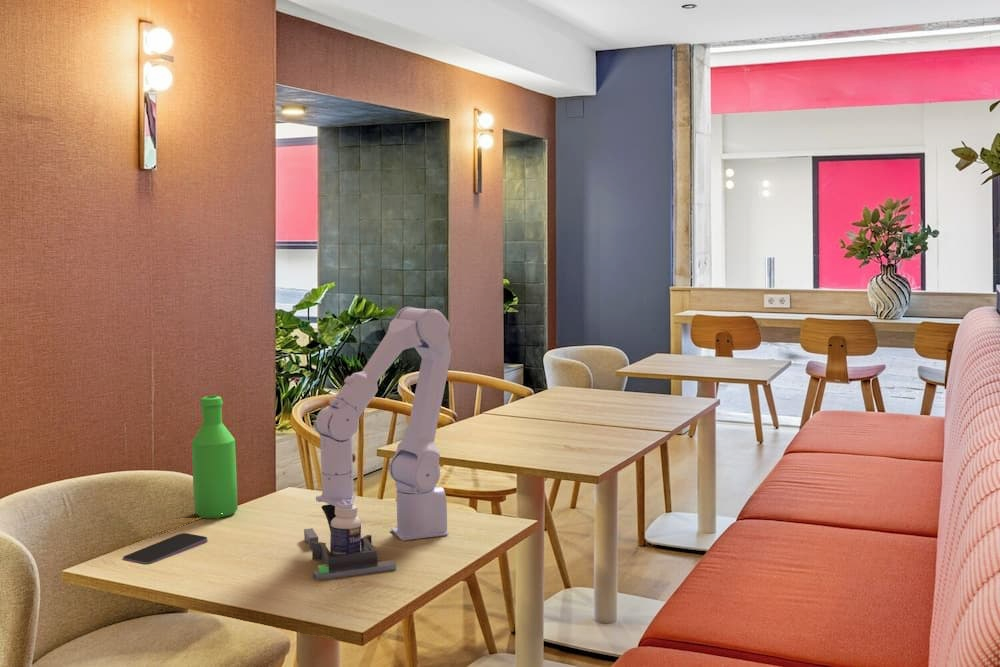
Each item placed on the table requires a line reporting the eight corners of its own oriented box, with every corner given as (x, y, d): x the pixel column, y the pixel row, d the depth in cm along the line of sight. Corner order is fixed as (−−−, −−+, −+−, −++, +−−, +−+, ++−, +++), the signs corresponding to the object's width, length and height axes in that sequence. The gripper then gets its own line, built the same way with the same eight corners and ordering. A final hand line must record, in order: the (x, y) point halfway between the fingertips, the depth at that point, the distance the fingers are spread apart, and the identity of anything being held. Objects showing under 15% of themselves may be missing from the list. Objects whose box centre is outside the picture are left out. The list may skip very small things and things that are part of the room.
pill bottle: (352, 566, 173) (353, 512, 172) (325, 562, 174) (325, 508, 173) (365, 557, 178) (366, 504, 177) (338, 553, 179) (339, 501, 178)
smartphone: (120, 557, 178) (182, 532, 191) (120, 563, 179) (182, 537, 192) (148, 563, 175) (209, 537, 188) (148, 569, 175) (210, 542, 188)
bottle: (197, 522, 201) (191, 401, 198) (192, 511, 209) (187, 395, 206) (241, 516, 204) (236, 398, 202) (234, 506, 212) (229, 392, 210)
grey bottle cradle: (379, 549, 182) (378, 533, 182) (396, 569, 171) (395, 553, 170) (303, 559, 177) (302, 542, 177) (315, 580, 166) (315, 563, 165)
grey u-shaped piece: (354, 533, 192) (353, 523, 192) (361, 542, 186) (360, 531, 186) (304, 539, 188) (304, 529, 188) (309, 548, 183) (309, 538, 183)
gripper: (308, 465, 185) (310, 535, 186) (323, 483, 172) (326, 558, 173) (344, 461, 188) (347, 530, 189) (363, 478, 174) (365, 552, 176)
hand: (339, 543), depth 181 cm, fingers closed
